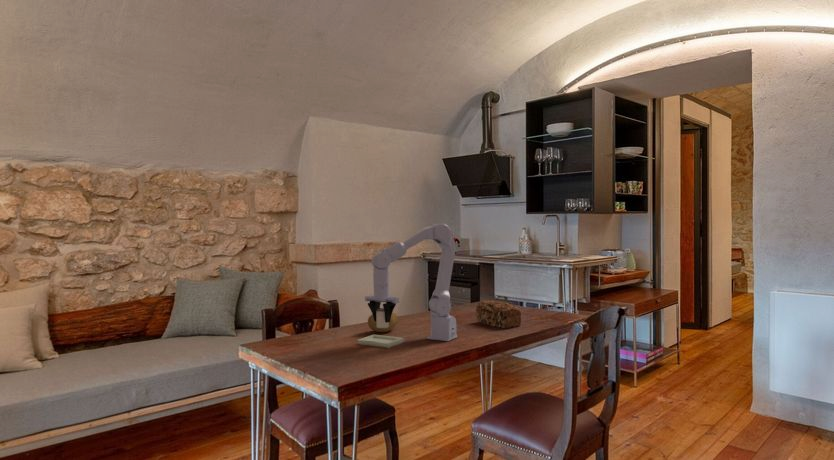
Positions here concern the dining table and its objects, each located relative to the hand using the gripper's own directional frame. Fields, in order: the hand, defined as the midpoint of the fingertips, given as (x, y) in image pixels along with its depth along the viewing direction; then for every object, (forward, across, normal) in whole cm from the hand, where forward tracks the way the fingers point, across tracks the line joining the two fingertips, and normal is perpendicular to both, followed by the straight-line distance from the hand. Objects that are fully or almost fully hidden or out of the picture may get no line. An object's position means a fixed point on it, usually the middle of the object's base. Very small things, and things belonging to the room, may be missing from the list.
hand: (382, 321), depth 186 cm
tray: (+8, -1, 0) cm, 8 cm away
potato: (+8, -12, +17) cm, 22 cm away
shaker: (+2, 0, 0) cm, 2 cm away
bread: (+9, +24, +51) cm, 57 cm away
